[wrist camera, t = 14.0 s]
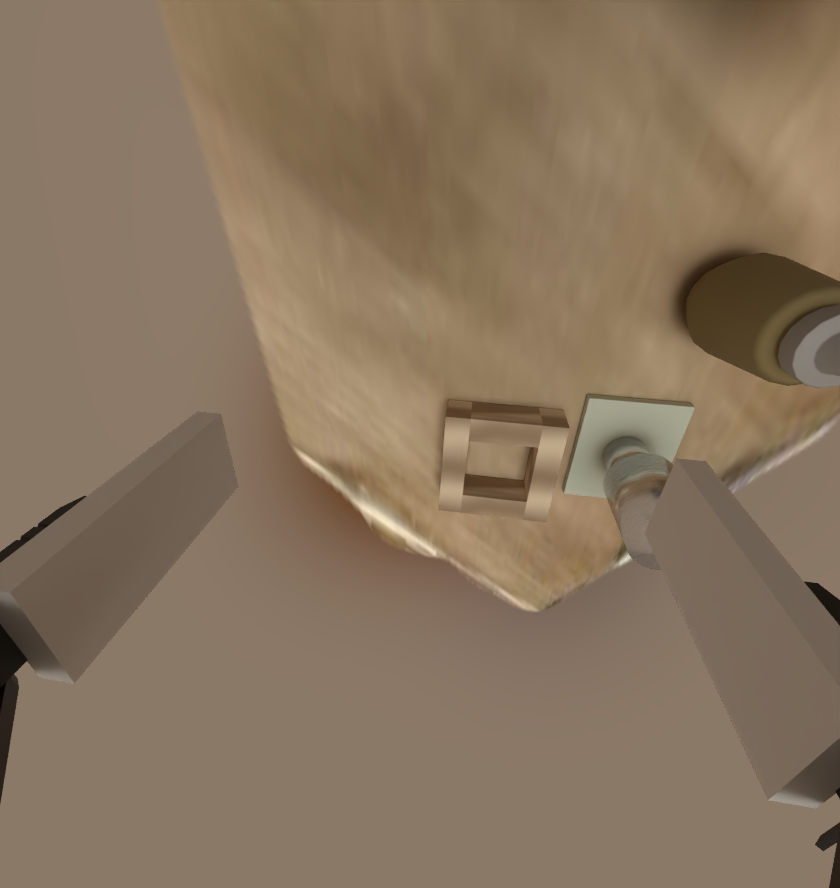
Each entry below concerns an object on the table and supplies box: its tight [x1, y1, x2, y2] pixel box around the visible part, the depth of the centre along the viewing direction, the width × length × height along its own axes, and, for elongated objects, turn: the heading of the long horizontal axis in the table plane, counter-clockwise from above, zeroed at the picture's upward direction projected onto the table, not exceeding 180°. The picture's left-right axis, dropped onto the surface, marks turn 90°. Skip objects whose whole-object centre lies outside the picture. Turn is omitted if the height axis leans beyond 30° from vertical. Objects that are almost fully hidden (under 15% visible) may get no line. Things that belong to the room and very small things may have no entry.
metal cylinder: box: [602, 436, 673, 570], centre depth 39 cm, size 6×6×13 cm
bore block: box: [439, 400, 570, 522], centre depth 46 cm, size 12×12×4 cm
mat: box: [562, 394, 695, 498], centre depth 45 cm, size 12×10×1 cm
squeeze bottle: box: [685, 253, 840, 388], centre depth 29 cm, size 8×8×18 cm
